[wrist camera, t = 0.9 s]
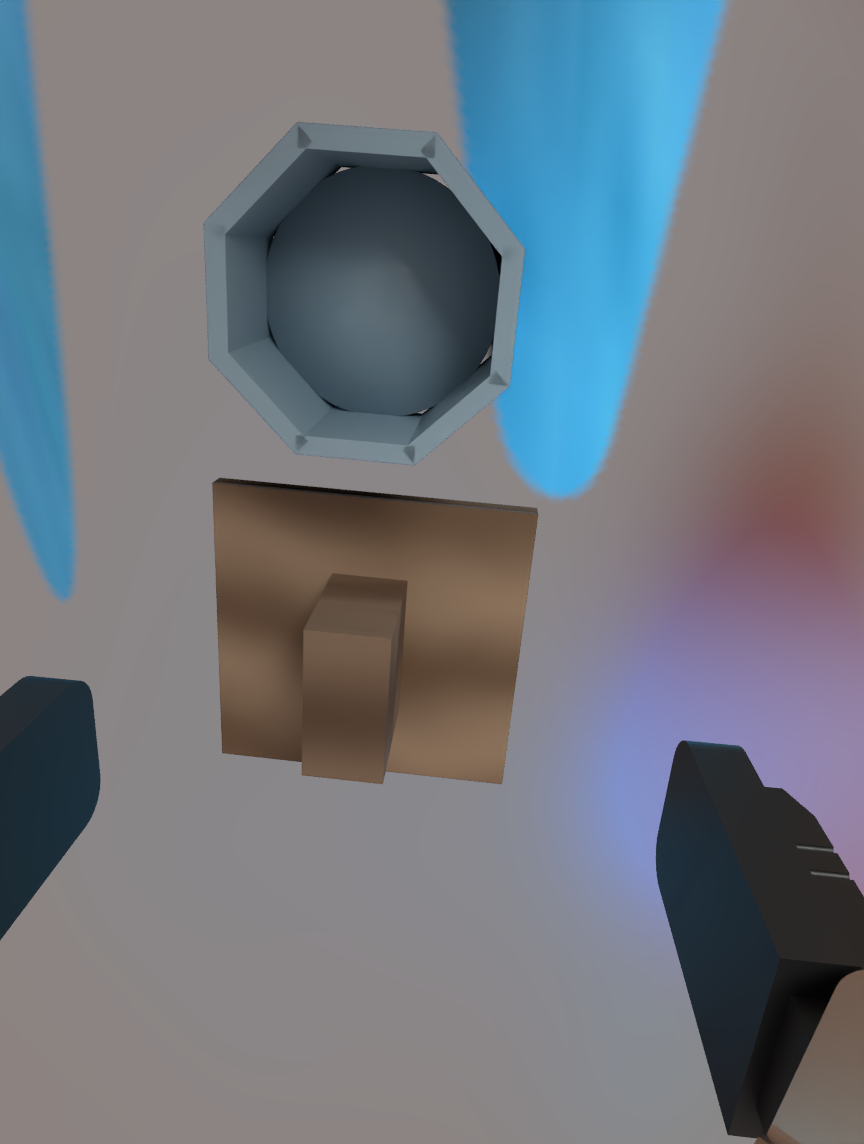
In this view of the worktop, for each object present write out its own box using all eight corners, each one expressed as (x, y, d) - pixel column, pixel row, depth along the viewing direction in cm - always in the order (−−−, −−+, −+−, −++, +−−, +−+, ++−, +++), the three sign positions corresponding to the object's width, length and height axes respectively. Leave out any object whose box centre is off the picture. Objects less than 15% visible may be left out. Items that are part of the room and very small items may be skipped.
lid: (219, 477, 30) (160, 525, 25) (537, 507, 30) (545, 563, 25) (228, 742, 35) (179, 830, 30) (501, 772, 35) (502, 867, 29)
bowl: (254, 139, 25) (199, 114, 21) (530, 160, 25) (537, 139, 20) (257, 414, 29) (211, 445, 24) (499, 437, 28) (499, 473, 24)
